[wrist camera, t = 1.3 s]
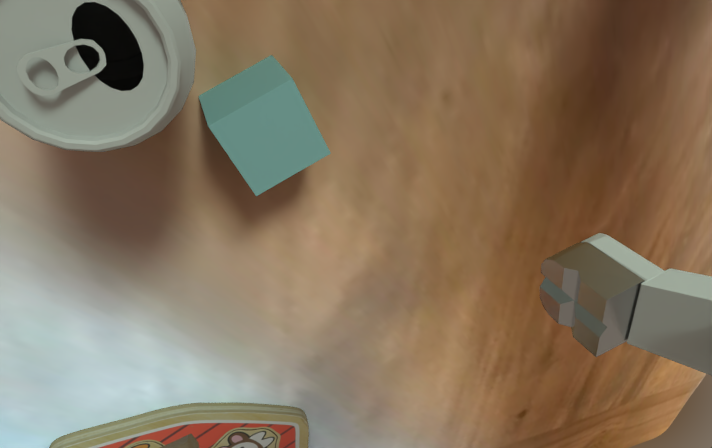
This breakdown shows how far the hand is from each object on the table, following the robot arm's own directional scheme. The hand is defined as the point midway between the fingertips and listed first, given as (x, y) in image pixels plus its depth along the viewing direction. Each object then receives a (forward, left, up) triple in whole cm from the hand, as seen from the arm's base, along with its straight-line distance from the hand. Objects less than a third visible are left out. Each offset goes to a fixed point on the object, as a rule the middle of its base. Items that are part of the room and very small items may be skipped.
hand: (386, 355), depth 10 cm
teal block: (0, +3, -23) cm, 24 cm away
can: (+4, -6, -24) cm, 24 cm away
